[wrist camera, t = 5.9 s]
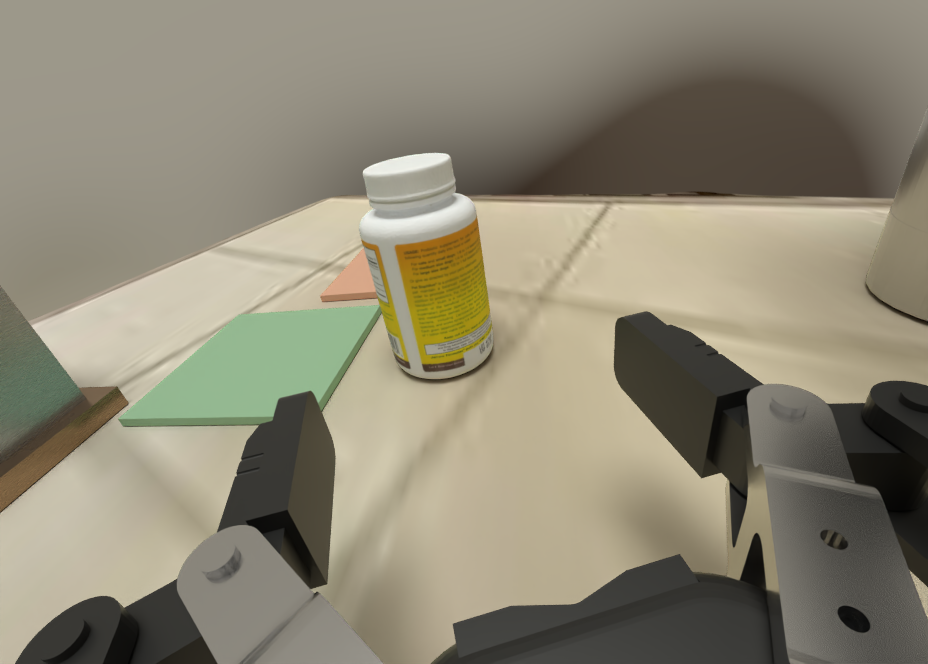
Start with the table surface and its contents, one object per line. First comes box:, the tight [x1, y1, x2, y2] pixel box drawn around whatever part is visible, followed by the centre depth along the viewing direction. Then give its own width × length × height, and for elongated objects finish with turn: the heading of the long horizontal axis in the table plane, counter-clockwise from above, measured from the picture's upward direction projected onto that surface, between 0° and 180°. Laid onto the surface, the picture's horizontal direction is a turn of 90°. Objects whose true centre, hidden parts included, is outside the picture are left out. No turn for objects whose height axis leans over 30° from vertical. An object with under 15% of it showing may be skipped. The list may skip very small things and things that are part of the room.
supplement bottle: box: [359, 153, 493, 379], centre depth 22 cm, size 6×6×10 cm
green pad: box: [118, 305, 382, 426], centre depth 26 cm, size 11×11×1 cm
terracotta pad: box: [320, 248, 378, 302], centre depth 36 cm, size 10×10×1 cm
